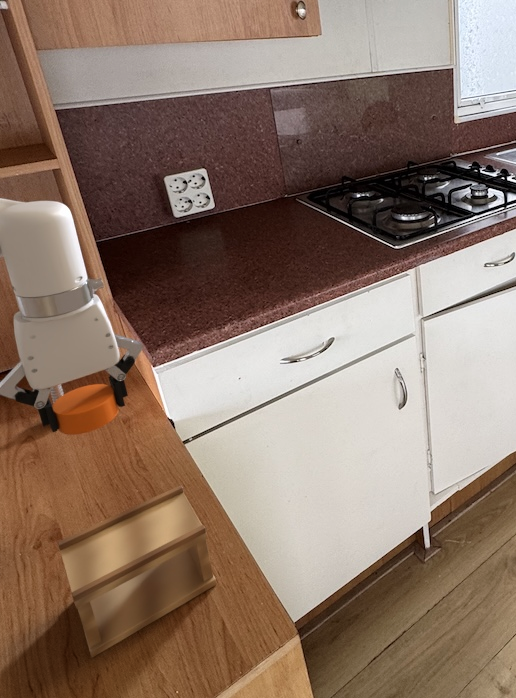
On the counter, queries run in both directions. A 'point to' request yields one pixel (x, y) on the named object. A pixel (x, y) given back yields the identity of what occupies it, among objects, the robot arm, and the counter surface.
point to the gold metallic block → (136, 567)
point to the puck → (85, 409)
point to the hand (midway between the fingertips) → (87, 413)
